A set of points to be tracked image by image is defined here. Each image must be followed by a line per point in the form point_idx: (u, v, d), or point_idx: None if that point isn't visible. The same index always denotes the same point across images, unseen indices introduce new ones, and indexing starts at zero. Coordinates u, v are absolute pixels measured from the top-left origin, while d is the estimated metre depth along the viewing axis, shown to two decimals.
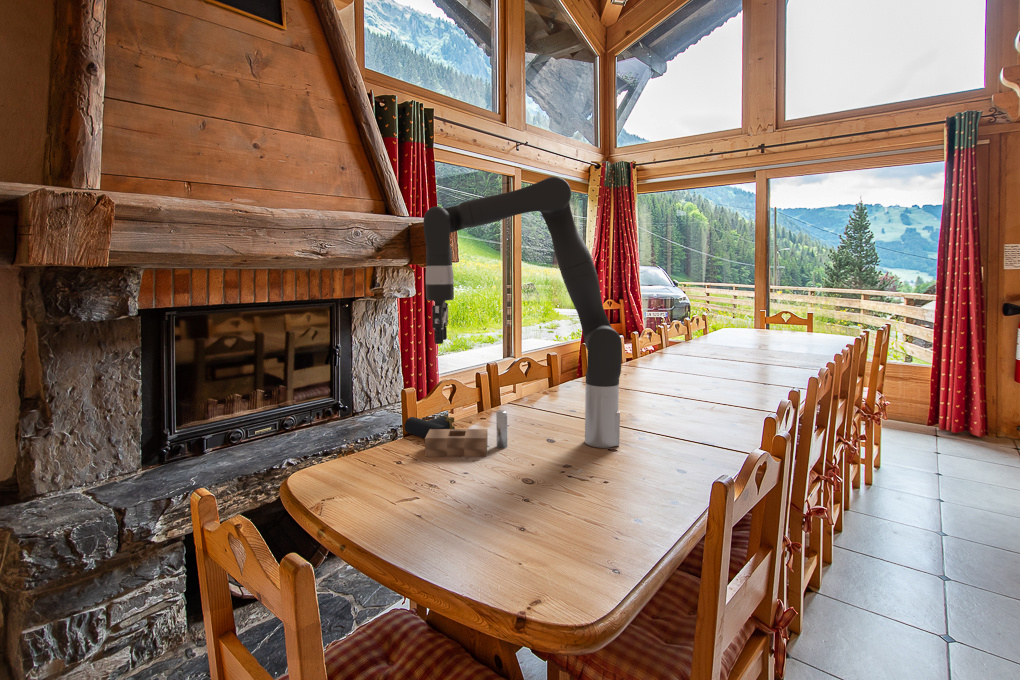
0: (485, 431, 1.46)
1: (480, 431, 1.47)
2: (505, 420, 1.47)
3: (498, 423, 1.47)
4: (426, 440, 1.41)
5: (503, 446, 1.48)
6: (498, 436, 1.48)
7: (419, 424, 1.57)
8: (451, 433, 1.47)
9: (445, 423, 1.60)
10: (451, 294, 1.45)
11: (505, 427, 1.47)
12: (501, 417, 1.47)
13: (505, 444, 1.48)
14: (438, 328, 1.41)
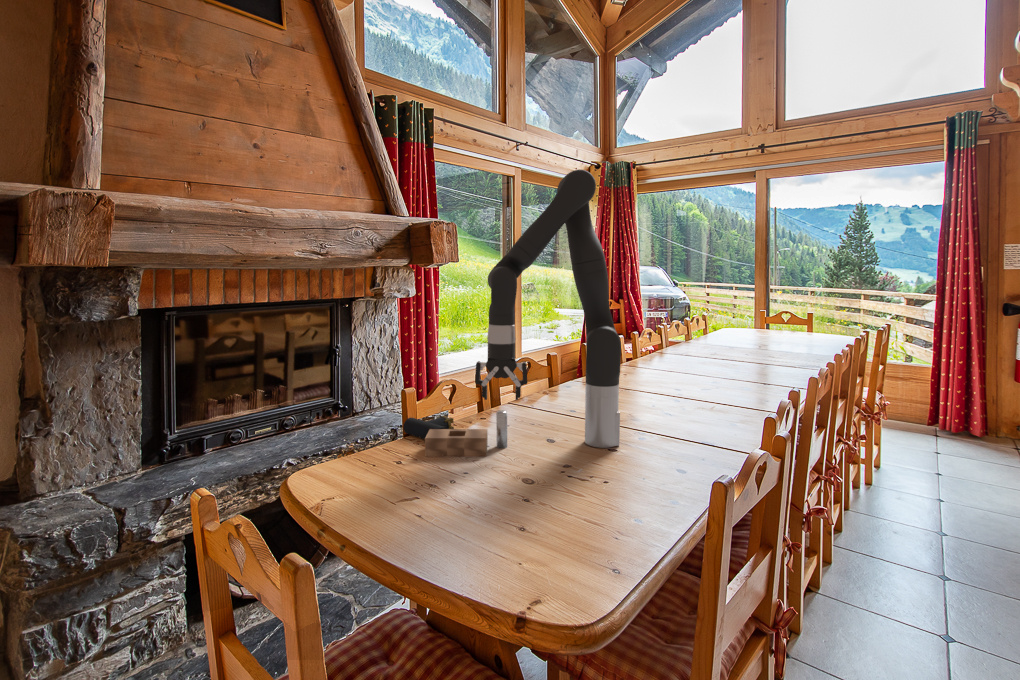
0: (485, 431, 1.46)
1: (480, 431, 1.47)
2: (505, 420, 1.47)
3: (498, 423, 1.47)
4: (426, 440, 1.41)
5: (503, 446, 1.48)
6: (498, 436, 1.48)
7: (418, 425, 1.56)
8: (451, 433, 1.47)
9: (444, 424, 1.59)
10: None
11: (505, 427, 1.47)
12: (501, 417, 1.47)
13: (505, 444, 1.48)
14: None
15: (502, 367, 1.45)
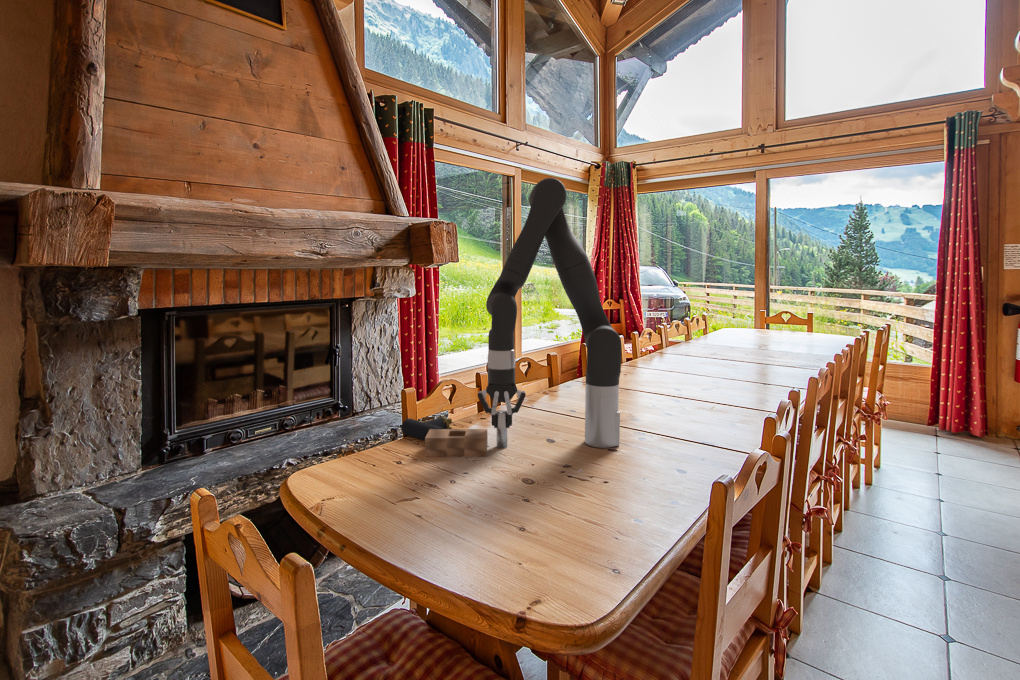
0: (485, 431, 1.46)
1: (480, 431, 1.47)
2: (505, 420, 1.47)
3: (498, 423, 1.47)
4: (426, 440, 1.41)
5: (503, 446, 1.48)
6: (498, 436, 1.48)
7: (416, 426, 1.55)
8: (451, 433, 1.47)
9: (442, 425, 1.58)
10: None
11: (505, 427, 1.47)
12: (501, 417, 1.47)
13: (505, 444, 1.48)
14: None
15: (502, 392, 1.46)
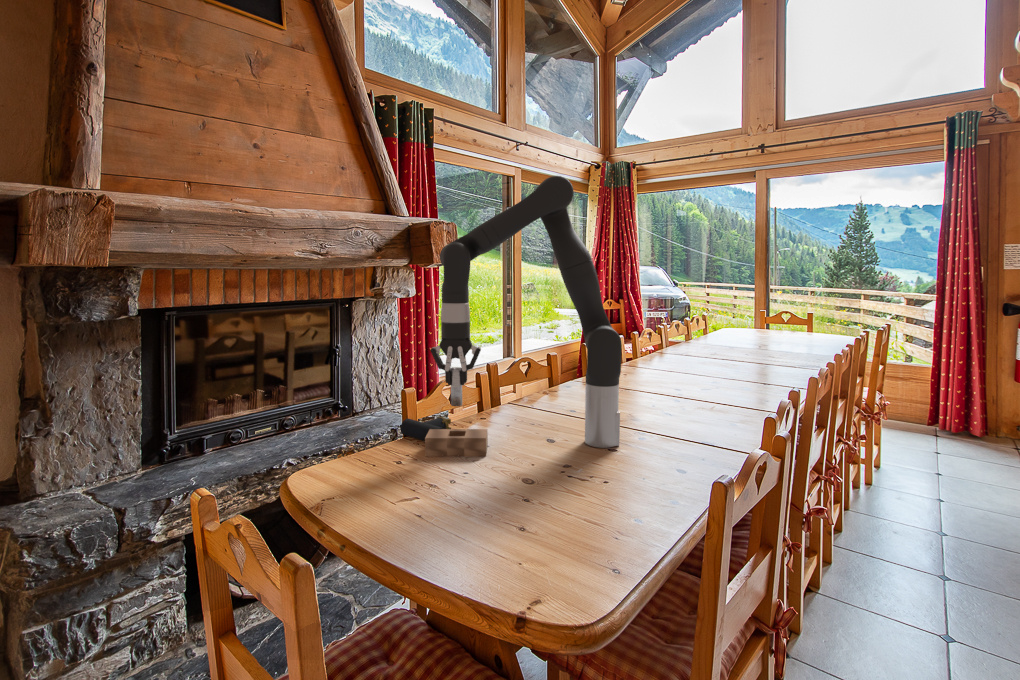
0: (485, 431, 1.46)
1: (480, 431, 1.47)
2: (459, 377, 1.42)
3: (452, 380, 1.42)
4: (426, 440, 1.41)
5: (457, 404, 1.42)
6: (452, 393, 1.42)
7: (415, 426, 1.55)
8: (451, 433, 1.47)
9: (442, 425, 1.58)
10: None
11: (459, 384, 1.42)
12: (455, 373, 1.41)
13: (459, 402, 1.43)
14: None
15: (456, 347, 1.41)
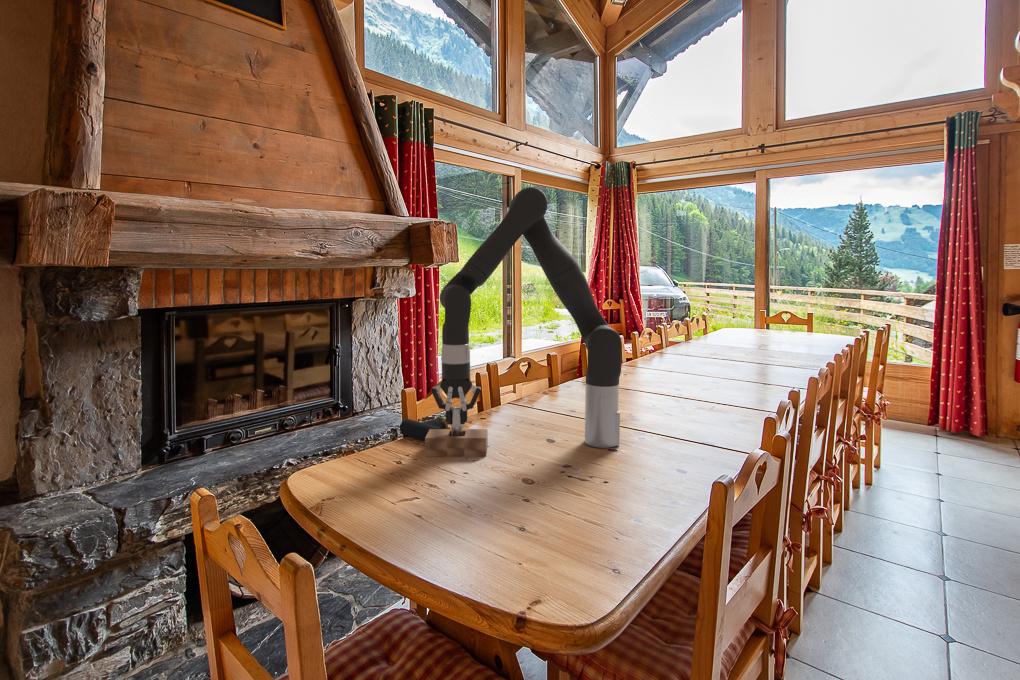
0: (485, 431, 1.46)
1: (480, 431, 1.47)
2: (460, 416, 1.43)
3: (452, 419, 1.43)
4: (426, 440, 1.41)
5: None
6: (453, 433, 1.44)
7: (415, 426, 1.55)
8: None
9: (441, 425, 1.58)
10: None
11: (460, 423, 1.43)
12: (455, 413, 1.42)
13: None
14: None
15: (456, 387, 1.42)
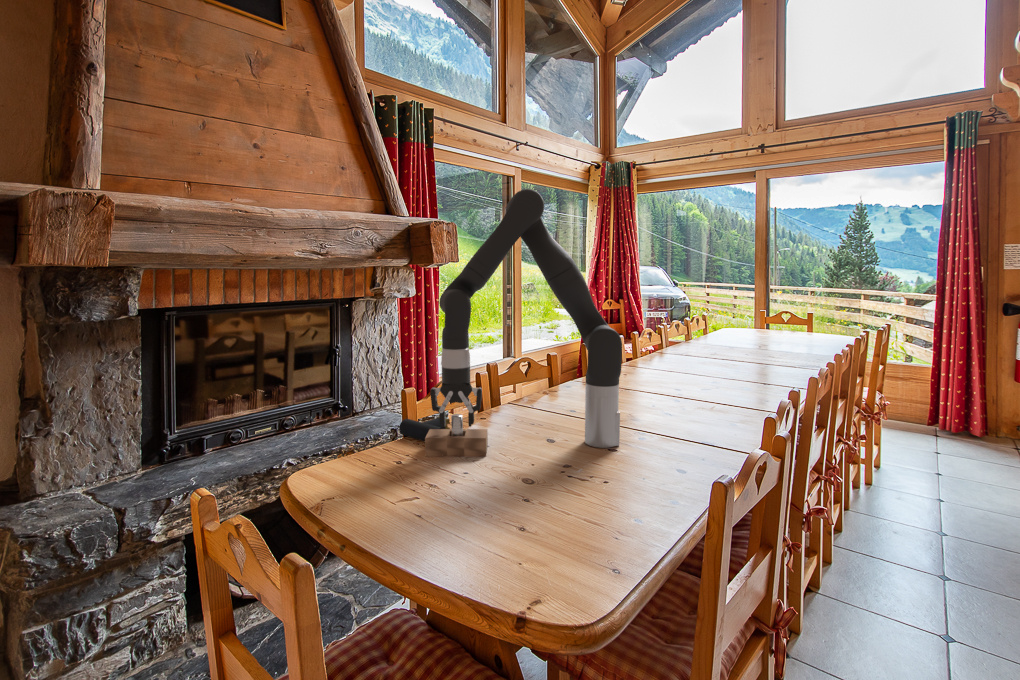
0: (485, 431, 1.46)
1: (480, 431, 1.47)
2: (460, 424, 1.43)
3: (453, 427, 1.43)
4: (426, 440, 1.41)
5: None
6: None
7: (414, 426, 1.55)
8: (451, 433, 1.47)
9: (441, 425, 1.58)
10: None
11: (460, 431, 1.44)
12: (455, 421, 1.43)
13: None
14: None
15: (457, 391, 1.42)
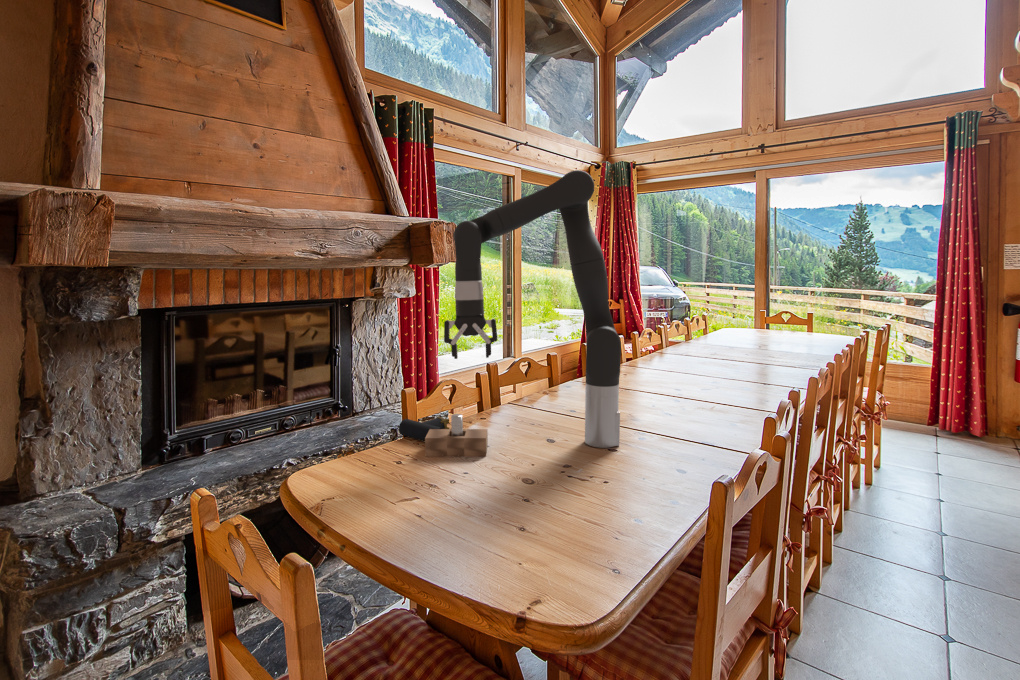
0: (485, 431, 1.46)
1: (480, 431, 1.47)
2: (460, 424, 1.43)
3: (453, 427, 1.43)
4: (426, 440, 1.41)
5: None
6: None
7: (414, 426, 1.55)
8: (451, 433, 1.47)
9: (440, 425, 1.58)
10: None
11: (460, 431, 1.44)
12: (455, 421, 1.43)
13: None
14: None
15: (471, 324, 1.43)
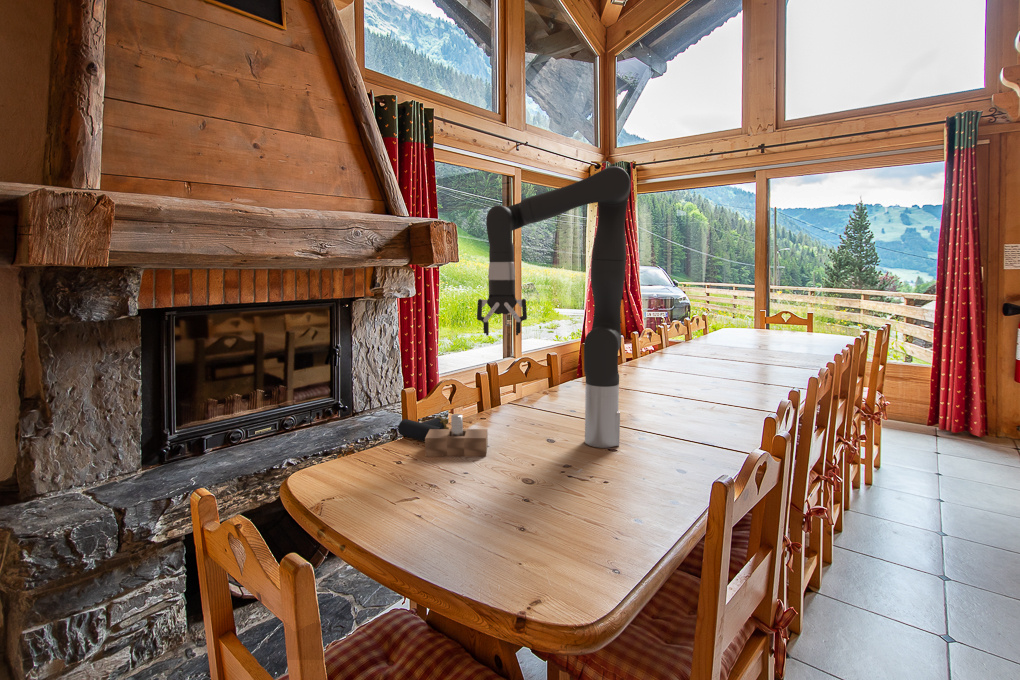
0: (485, 431, 1.46)
1: (480, 431, 1.47)
2: (460, 424, 1.43)
3: (453, 427, 1.43)
4: (426, 440, 1.41)
5: None
6: None
7: (414, 426, 1.55)
8: (451, 433, 1.47)
9: (440, 425, 1.58)
10: None
11: (460, 431, 1.44)
12: (455, 421, 1.43)
13: None
14: (524, 319, 1.54)
15: (503, 303, 1.52)
